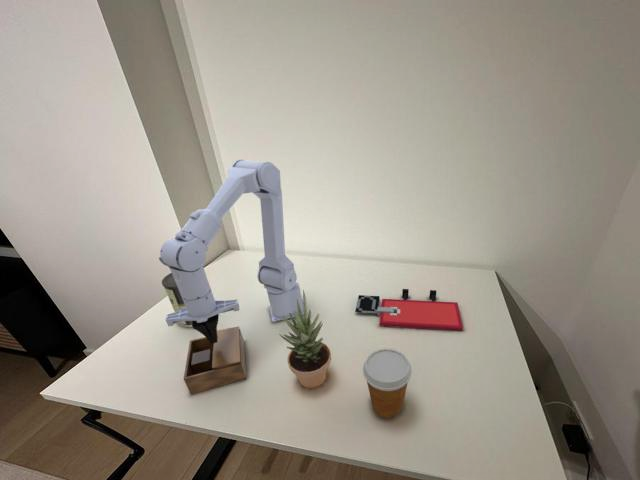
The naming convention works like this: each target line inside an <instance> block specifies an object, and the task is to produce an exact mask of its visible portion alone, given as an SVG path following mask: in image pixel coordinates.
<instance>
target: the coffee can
mask: <svg viewBox="0 0 640 480" xmlns="http://www.w3.org/2000/svg"><path fill="white" fill-rule="evenodd" d="M161 285H162V286H163V289H164V290H165V292H166V293H165V294H166V295H167V297H168V299H169V302H170V304H171V306H172V309H173V312H177V311H180V310H182V309H185V308H186V306H185V304H184V301H183V299H182V297H181V294H180V292H179V289H178V287H177V284H176V282H175V280H174V277H173V274H172V273H171V272H170V273H168V274H167V275H166V276H164V277H163V278H162V280H161ZM178 324H179V325H180V326H181V327H184V328H193V327H192V321H184V322H179V323H178Z"/></svg>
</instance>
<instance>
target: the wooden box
mask: <svg viewBox="0 0 640 480" xmlns="http://www.w3.org/2000/svg"><path fill="white" fill-rule="evenodd" d="M239 337H240V363H235V364H231V365H226V366H222V367H217V368H214V370H211V371H207V372H203V373H200V374H196V375H195V373H194V370H193V368H192V366H191V362H192V355H193V353H196V352H200V351H204V350H208V349H211V352H212V354H213V346H214V343H213V344H211V343H210V341H209V340H208V339H207V338H206V337H205V336H204V337H199V338H195V339H190V340H189V344H188V349H187V356H186V362H185V368H184V374H183V381H184V383H185V385H186V388H187V389H188V392H189V394H190V395H194V394H197V393H202V392H204V391H208V390H212V389H215V388H219V387H222V386H226V385H229V384H233V383H236V382H239V381H243V380H247V367H246V351H245V350H246V348H245V340H244V337H243V334H242V331H241V328H239Z"/></svg>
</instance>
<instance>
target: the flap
mask: <svg viewBox="0 0 640 480" xmlns="http://www.w3.org/2000/svg"><path fill="white" fill-rule="evenodd" d="M239 329H240V326H239V325H238V326H234V327H228V328H224V329H217V336H218V342H217V343H214V346H213V360H212V369H213V368H217V367H222V366H226V365H231V364H235V363H240V337H239Z"/></svg>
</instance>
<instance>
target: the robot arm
mask: <svg viewBox="0 0 640 480" xmlns="http://www.w3.org/2000/svg"><path fill="white" fill-rule="evenodd" d="M226 172H227V173H226V174H227V175H226V176H227V177H226V178H225V180H224V181H223V183H222V184H221V186H220V187H219V189H218V190H217V192H216V194H215V195H214V196H213V198H212V199H211V200H210V202H209V204H208V205H207V207H206V208H200V209H197V210H196V211H192V212H191V213H190V214H189V219H188V220H187V222H186V223H185V224H184V226H183V227H182V228H181V229H180V230H179V231H177V232H176V234H175V237H174V238H170V239H167V240H166V241H165V242H164V243H163V245H161V247H160V253H159V255H160V256H159V257H158V260H159V262H160V263H161V264H162V265H164V266H166V267H168V268H169V271H170V273H172V274H173V277H174V280H175V282H176V284H177V287H178V289H179V292H180V294H181V297H182V299H183V301H184V304H185V306H186V308H185V309H182V310H180V311H177V312H175V311H173V312H171V313H168V314H166V316H165V322H166V324H167V326H168V327H173V326H174V325H175V324H179V322H184V321H192V327H191V328H193V330H195V331H197V332H198V333H200V334H201V335H203V336H204V337H206V338H207V339H208V340H209V341H210V343H211V344H213V343H217V342H218V336H217V330H218V324H219V315H220V314H223V313H227V312H231V311H232V312H233V311H234V312H239V311H240V304H239V300H238V299H229V300H228V299H227V300H225V299H224V300H215V296H214V294H213V291H212V288H211V285H210V282H209V280H208V279H209V278H208V277H207V273H206V272H205V271H206V270H205V268H204V264H205V262H206V257H207V251H208V249H209V245H210V244H211V243H212V241H213V240H215V237H216V236H217V235H218V234H219V232H220V231H221V230H222V228H223V222H222V218H223V217H224V216H225V215H226V214H227V213H228V212H229V211H230V210H231V208H232V207H233V206H234V205H235V204H236V203H237V201H238V200H239V199H240V198H241V197H242V196H243V195H245V194H250V193H251V194H254V196H255V197H257V198H258V199H259V201H260V212H261V213H260V214H261V227H262V238H263V239H262V240H263V251H264V257H263V258H261V259H260V260H258V261H259V262H258V271H257V281H258V282H259V283H260V284H261V285H263V287H264V289H266V293H267V298H268V301H269V311H270V317H271V322H272V323H275V322H280V321H285V320H284V318H283V316H284V317H285V318H286V319H287V320H288V319H291V317H290V315H289V313H290V314H291V315H292V317H293V318H295V315H294V310H295V311H296V313H297V315H298V309H297V299H298V302H299V305H300V308H301V312H302V315H303V316H304V304H303V302H304V300H303V295H302V292H301V288H300V283H299V282H298V281H297V280H298V279H297V278H298V277H297V276H298V275H297V272H296V270H295V264H294V262H293V261H292V260H291V259H290V258H289V257H288V256H287V255H286V245H285V244H286V243H285V226H284V209H283V208H284V206H283V191H282V185H281V184H282V183H281V170H280V169H279V168H278V167H277V166H276V165H275V164H274V163H272V162H271V161H255V160H245V159H237V160H235V161H233V163H232V165H231V166H230V167H229V168H228V169H227V171H226Z"/></svg>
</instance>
